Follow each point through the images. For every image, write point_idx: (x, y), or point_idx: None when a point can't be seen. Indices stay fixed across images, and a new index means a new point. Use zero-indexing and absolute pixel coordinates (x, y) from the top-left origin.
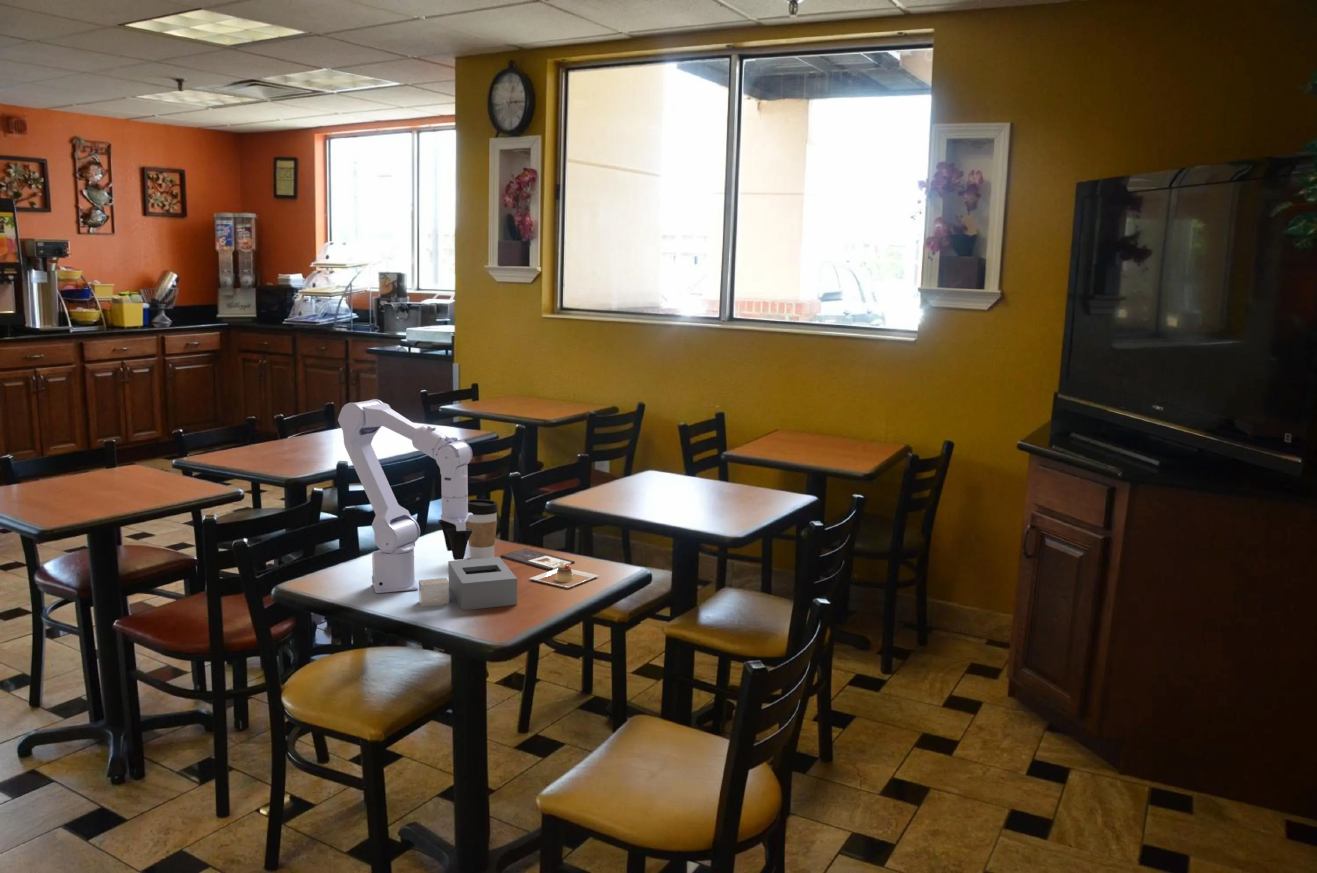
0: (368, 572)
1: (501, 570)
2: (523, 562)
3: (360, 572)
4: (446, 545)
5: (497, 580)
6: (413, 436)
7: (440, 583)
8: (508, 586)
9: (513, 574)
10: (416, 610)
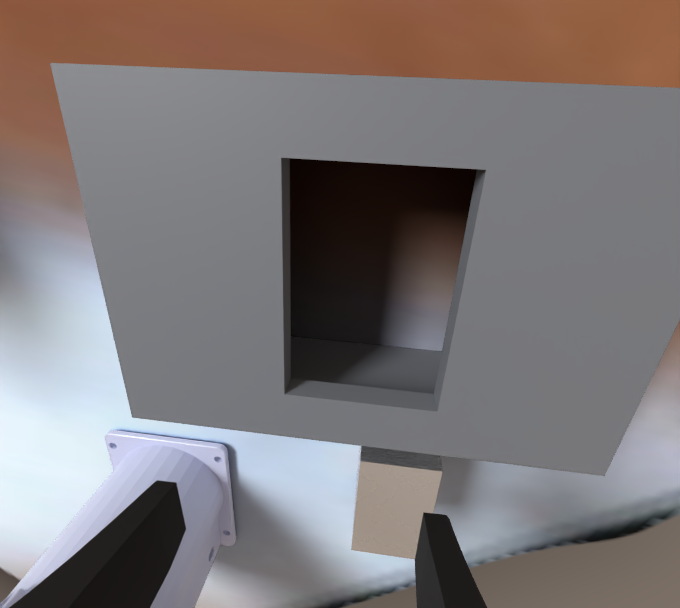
0: (14, 505)
1: (462, 166)
2: None
3: (15, 520)
4: (162, 581)
5: None
6: None
7: (434, 499)
8: None
9: (642, 90)
10: (446, 496)
